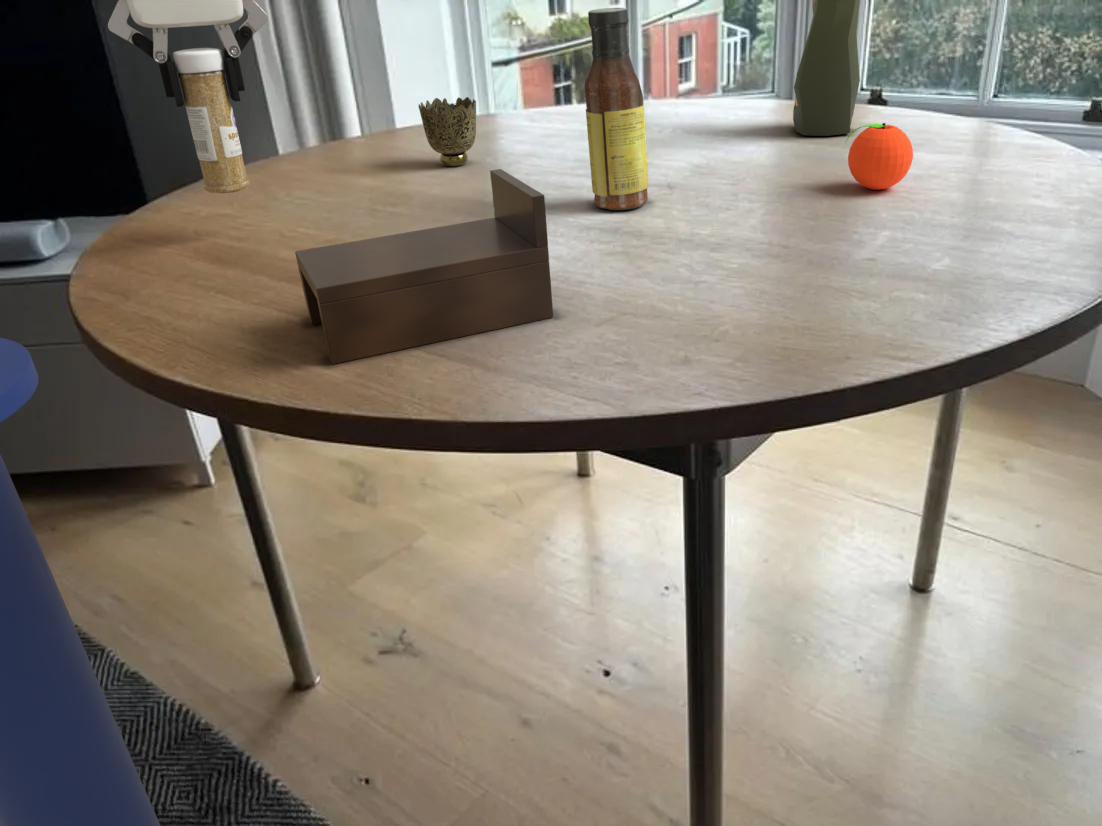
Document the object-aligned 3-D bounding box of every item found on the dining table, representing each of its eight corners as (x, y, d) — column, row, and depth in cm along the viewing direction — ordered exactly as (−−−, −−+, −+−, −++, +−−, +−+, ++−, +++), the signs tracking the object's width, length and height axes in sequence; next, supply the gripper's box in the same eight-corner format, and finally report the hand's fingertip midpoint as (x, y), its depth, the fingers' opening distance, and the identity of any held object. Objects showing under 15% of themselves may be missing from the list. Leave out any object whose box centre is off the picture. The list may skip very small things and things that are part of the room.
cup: (487, 157, 127) (481, 95, 123) (476, 170, 121) (469, 105, 117) (434, 158, 128) (426, 97, 124) (420, 171, 121) (411, 107, 117)
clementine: (825, 189, 105) (830, 124, 102) (857, 176, 110) (863, 113, 106) (889, 200, 100) (897, 132, 97) (920, 186, 105) (928, 120, 101)
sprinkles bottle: (255, 189, 96) (226, 48, 90) (210, 196, 94) (177, 53, 88) (243, 181, 100) (214, 45, 93) (199, 188, 97) (166, 49, 91)
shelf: (332, 364, 70) (305, 234, 65) (309, 320, 78) (283, 201, 73) (553, 317, 76) (544, 195, 71) (511, 281, 84) (500, 168, 79)
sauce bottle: (657, 199, 105) (654, 5, 95) (633, 214, 100) (628, 12, 90) (606, 194, 108) (598, 5, 98) (580, 209, 103) (569, 12, 93)
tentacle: (846, 122, 136) (867, -118, 121) (864, 140, 125) (889, -120, 110) (783, 124, 136) (796, -114, 121) (796, 143, 126) (812, -116, 111)
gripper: (252, -111, 90) (289, 90, 99) (57, -108, 84) (115, 105, 93) (262, -115, 84) (300, 99, 93) (53, -112, 78) (115, 116, 87)
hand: (207, 100), depth 93 cm, fingers closed on sprinkles bottle, 4 cm apart
